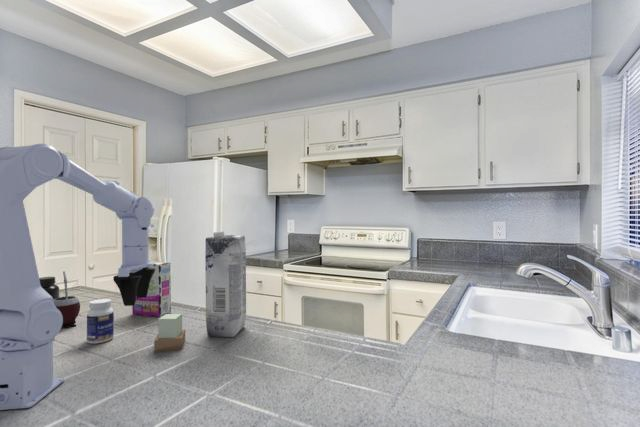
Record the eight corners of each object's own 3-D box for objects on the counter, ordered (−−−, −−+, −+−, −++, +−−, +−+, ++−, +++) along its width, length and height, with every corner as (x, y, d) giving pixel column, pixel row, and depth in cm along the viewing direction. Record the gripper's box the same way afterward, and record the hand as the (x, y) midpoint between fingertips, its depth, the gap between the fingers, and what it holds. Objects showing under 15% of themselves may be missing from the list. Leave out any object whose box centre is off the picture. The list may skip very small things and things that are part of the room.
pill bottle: (100, 345, 83) (100, 304, 83) (81, 343, 84) (80, 303, 84) (119, 336, 89) (118, 298, 89) (100, 335, 90) (100, 297, 90)
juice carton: (248, 325, 96) (248, 230, 96) (236, 339, 86) (235, 232, 86) (218, 325, 97) (217, 230, 97) (202, 338, 87) (201, 232, 87)
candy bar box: (171, 313, 110) (171, 262, 110) (160, 317, 105) (159, 264, 105) (143, 310, 113) (143, 261, 113) (131, 314, 108) (131, 263, 108)
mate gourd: (65, 330, 94) (64, 276, 94) (40, 329, 95) (40, 275, 95) (87, 322, 101) (87, 271, 101) (64, 321, 102) (64, 271, 102)
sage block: (175, 338, 80) (175, 318, 80) (158, 338, 80) (158, 319, 80) (182, 332, 84) (182, 313, 84) (165, 332, 84) (165, 314, 84)
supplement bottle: (36, 314, 110) (36, 277, 110) (62, 311, 113) (61, 275, 113) (28, 320, 104) (28, 280, 104) (56, 317, 106) (56, 278, 107)
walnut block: (182, 350, 80) (182, 337, 80) (154, 353, 78) (154, 340, 78) (185, 341, 86) (185, 329, 86) (159, 344, 84) (159, 332, 84)
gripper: (141, 248, 77) (142, 308, 77) (162, 243, 92) (162, 293, 91) (108, 249, 76) (108, 309, 76) (134, 243, 91) (134, 294, 91)
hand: (135, 301), depth 84 cm, fingers open, 7 cm apart
